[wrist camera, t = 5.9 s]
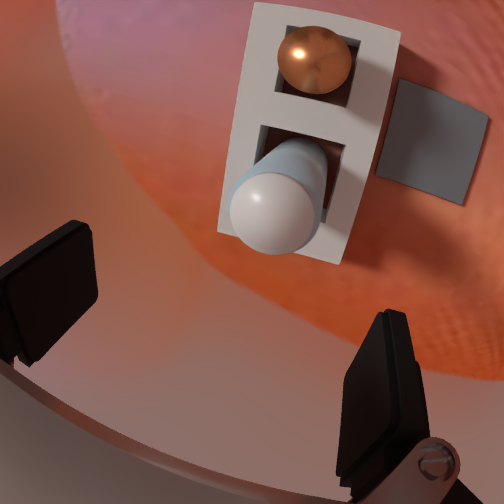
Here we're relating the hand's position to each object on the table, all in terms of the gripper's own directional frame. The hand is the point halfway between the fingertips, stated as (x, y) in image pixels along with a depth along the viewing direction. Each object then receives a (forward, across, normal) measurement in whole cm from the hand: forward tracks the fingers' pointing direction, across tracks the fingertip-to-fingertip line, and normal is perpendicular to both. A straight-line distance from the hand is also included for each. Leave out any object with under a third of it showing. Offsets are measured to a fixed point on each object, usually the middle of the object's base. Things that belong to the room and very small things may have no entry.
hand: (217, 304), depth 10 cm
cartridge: (+18, 0, 0) cm, 18 cm away
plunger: (+18, 0, -8) cm, 20 cm away
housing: (+18, 0, -4) cm, 19 cm away
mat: (+18, -10, -6) cm, 22 cm away
